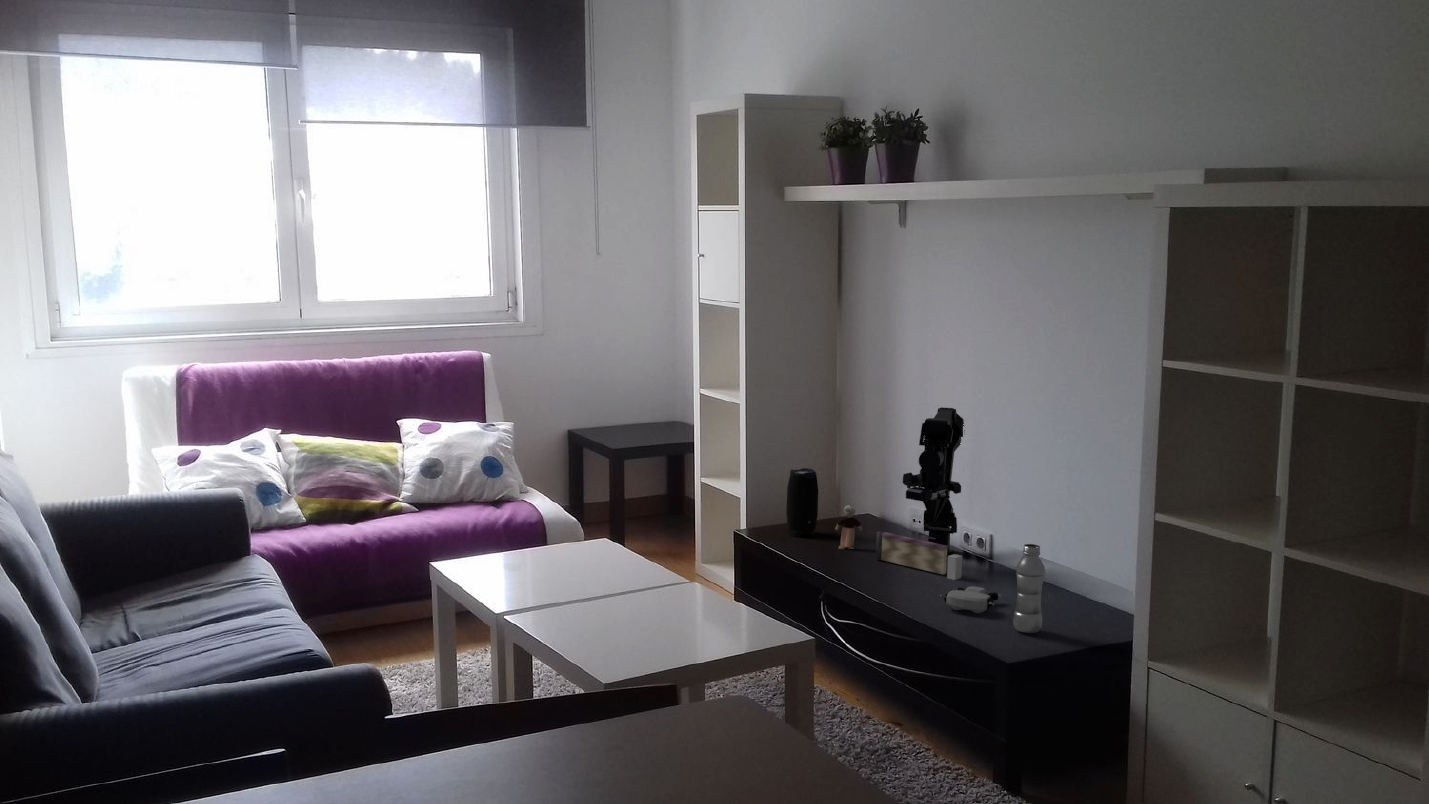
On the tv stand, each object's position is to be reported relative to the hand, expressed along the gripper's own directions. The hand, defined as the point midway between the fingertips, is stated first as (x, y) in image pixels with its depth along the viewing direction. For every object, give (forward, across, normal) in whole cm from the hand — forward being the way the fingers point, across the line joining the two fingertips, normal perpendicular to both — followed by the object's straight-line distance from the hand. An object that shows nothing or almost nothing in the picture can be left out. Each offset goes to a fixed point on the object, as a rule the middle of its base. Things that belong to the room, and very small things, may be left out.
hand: (932, 521), depth 329 cm
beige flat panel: (+12, +7, -2) cm, 14 cm away
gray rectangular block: (+12, +7, +12) cm, 18 cm away
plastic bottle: (+12, +33, +48) cm, 60 cm away
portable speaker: (+12, 0, -46) cm, 48 cm away
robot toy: (+12, +26, +29) cm, 41 cm away
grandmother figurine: (+12, +3, -26) cm, 29 cm away
